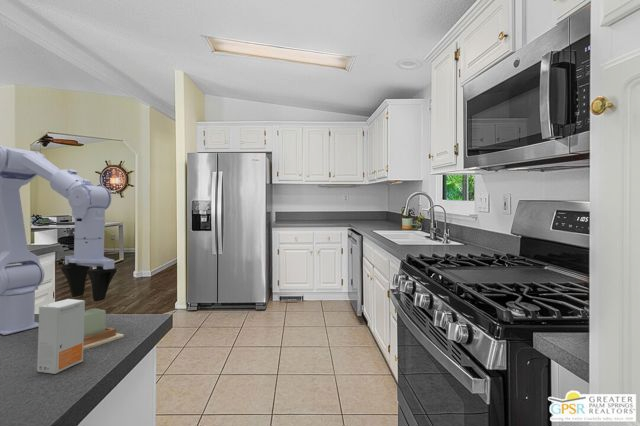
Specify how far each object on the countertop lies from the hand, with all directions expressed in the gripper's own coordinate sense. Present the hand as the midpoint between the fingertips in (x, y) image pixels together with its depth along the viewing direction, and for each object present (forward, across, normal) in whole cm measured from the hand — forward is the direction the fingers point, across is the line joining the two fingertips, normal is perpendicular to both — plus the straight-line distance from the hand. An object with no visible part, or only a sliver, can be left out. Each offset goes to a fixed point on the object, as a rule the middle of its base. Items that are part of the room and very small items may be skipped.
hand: (88, 298), depth 82 cm
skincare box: (+10, +10, -11) cm, 18 cm away
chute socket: (+9, +1, -1) cm, 9 cm away
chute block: (+9, +1, -1) cm, 9 cm away
